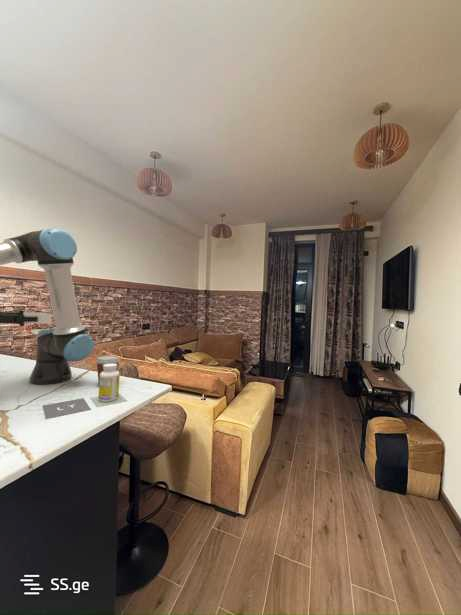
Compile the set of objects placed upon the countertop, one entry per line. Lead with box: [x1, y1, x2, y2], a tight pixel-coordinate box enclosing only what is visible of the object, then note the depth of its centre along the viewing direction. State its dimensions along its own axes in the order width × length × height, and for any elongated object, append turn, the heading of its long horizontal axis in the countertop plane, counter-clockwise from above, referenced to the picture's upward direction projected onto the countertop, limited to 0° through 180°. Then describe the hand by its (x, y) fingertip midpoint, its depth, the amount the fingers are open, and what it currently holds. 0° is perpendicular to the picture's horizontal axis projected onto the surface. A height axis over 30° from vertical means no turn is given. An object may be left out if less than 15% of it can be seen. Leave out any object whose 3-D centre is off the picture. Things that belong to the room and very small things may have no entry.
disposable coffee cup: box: [95, 355, 121, 382], centre depth 105 cm, size 10×10×12 cm
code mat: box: [42, 397, 92, 420], centre depth 80 cm, size 12×12×1 cm
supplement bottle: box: [98, 364, 121, 402], centre depth 89 cm, size 7×7×13 cm
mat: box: [90, 393, 128, 408], centre depth 89 cm, size 10×10×1 cm
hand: (48, 317), depth 83 cm, fingers open, 13 cm apart
